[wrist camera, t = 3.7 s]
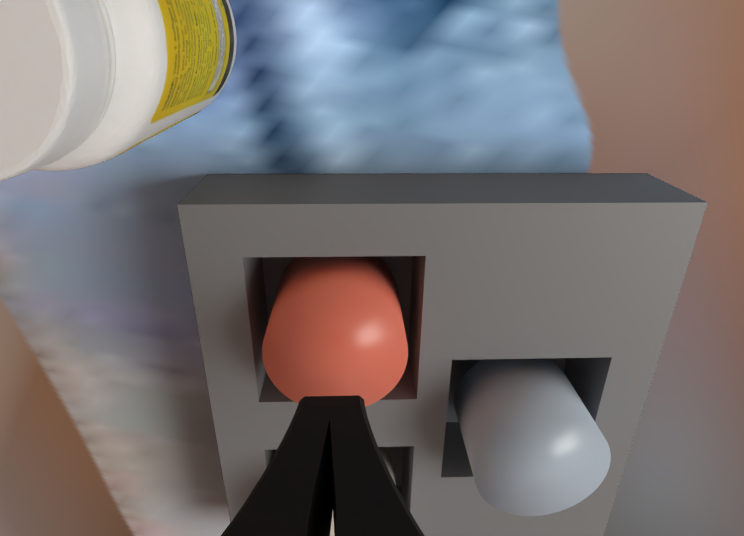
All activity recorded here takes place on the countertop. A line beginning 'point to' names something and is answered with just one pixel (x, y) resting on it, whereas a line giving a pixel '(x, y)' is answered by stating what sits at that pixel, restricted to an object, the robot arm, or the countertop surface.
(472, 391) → the button slate
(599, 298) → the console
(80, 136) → the supplement bottle
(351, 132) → the countertop surface
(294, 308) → the button red
